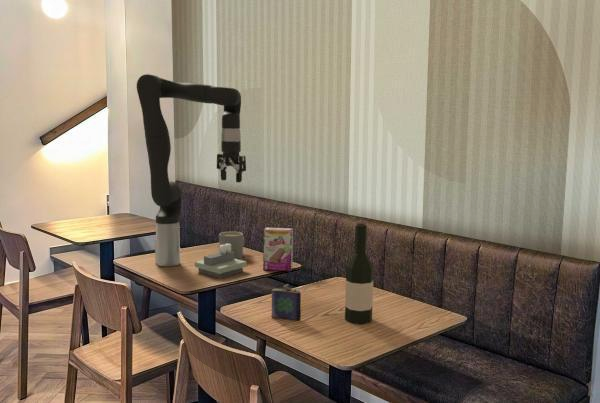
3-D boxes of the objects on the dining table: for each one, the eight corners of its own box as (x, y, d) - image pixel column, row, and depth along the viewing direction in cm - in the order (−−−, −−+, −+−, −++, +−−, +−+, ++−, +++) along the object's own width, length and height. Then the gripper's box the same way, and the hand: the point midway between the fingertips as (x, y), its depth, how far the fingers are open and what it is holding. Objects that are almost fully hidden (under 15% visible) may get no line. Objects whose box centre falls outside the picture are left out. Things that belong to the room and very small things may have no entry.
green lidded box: (194, 272, 235) (194, 261, 234) (221, 265, 245) (221, 255, 245) (219, 279, 226) (219, 268, 225) (246, 271, 237) (246, 261, 236)
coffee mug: (229, 261, 252) (229, 237, 250) (214, 256, 259) (214, 233, 257) (253, 255, 262) (253, 232, 260) (238, 251, 268) (238, 229, 267)
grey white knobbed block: (203, 264, 231) (203, 248, 230) (227, 258, 240) (227, 242, 239) (211, 265, 229) (210, 249, 228) (234, 260, 238) (234, 244, 237)
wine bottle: (361, 326, 180) (364, 226, 175) (339, 319, 185) (341, 222, 180) (377, 319, 186) (381, 222, 181) (355, 313, 191) (358, 219, 186)
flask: (270, 318, 186) (270, 284, 184) (273, 315, 188) (274, 281, 187) (299, 321, 183) (299, 287, 181) (302, 318, 186) (302, 284, 184)
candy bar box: (262, 270, 238) (263, 229, 235) (264, 267, 243) (265, 227, 240) (291, 271, 237) (291, 230, 234) (292, 268, 242) (293, 228, 239)
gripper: (211, 139, 239) (211, 180, 242) (236, 141, 230) (236, 183, 233) (225, 138, 245) (225, 178, 247) (250, 140, 236) (250, 182, 238)
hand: (231, 181), depth 240 cm, fingers open, 8 cm apart
